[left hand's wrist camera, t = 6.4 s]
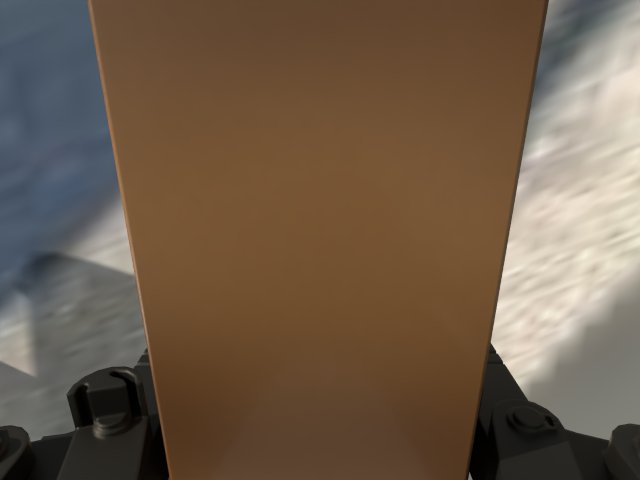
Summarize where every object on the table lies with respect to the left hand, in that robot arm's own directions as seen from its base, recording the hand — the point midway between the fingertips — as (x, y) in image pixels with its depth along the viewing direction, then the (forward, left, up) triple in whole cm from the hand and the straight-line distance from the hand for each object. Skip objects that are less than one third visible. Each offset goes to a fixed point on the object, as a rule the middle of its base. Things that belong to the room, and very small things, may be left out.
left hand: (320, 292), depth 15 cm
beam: (+11, +32, -1) cm, 34 cm away
